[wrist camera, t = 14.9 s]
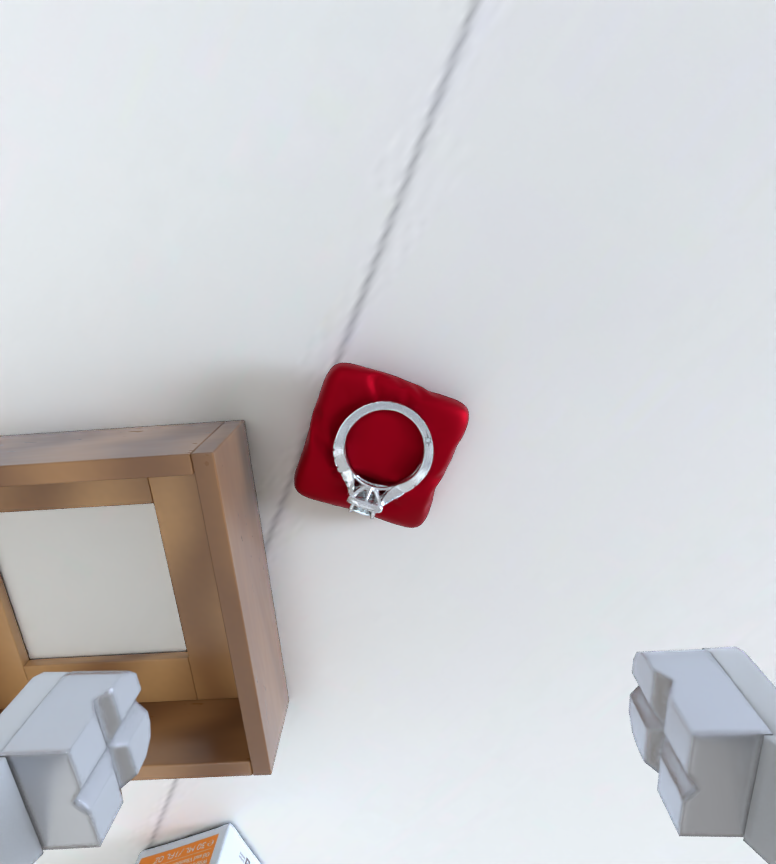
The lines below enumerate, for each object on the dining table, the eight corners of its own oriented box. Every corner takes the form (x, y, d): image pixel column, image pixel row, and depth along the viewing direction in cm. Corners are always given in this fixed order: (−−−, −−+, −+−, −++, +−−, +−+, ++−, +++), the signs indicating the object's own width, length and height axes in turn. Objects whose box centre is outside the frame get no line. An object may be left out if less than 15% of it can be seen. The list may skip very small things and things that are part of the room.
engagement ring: (292, 481, 23) (278, 510, 20) (335, 349, 21) (326, 361, 18) (420, 523, 23) (423, 557, 21) (472, 397, 22) (483, 417, 19)
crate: (244, 419, 22) (212, 452, 18) (289, 701, 26) (271, 775, 22) (-143, 444, 22) (-253, 482, 19) (-36, 716, 27) (-107, 791, 23)
